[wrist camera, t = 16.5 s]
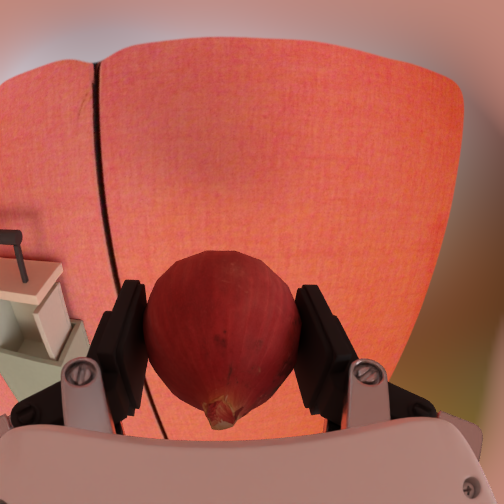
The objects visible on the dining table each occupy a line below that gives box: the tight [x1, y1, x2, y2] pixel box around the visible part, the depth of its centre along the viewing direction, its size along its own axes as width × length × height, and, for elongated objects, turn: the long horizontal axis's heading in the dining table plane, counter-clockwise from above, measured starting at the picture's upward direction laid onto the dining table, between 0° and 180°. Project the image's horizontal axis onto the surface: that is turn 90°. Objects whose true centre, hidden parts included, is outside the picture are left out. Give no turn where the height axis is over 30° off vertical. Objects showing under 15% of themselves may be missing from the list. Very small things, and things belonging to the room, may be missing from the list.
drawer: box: [0, 229, 73, 361], centre depth 27 cm, size 19×11×7 cm, turn 173°
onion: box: [143, 251, 302, 430], centre depth 11 cm, size 6×6×8 cm
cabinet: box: [0, 319, 90, 402], centre depth 32 cm, size 15×13×9 cm
